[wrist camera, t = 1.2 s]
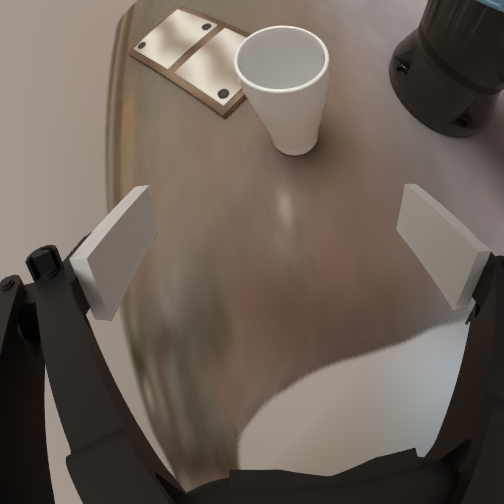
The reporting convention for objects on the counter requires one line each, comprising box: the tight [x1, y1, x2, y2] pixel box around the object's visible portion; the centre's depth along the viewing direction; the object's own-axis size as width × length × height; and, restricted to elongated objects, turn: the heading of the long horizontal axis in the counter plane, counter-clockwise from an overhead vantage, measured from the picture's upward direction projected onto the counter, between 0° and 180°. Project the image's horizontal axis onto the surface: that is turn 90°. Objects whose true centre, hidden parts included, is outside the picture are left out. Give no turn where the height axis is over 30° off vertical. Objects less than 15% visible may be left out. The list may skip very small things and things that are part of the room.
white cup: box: [234, 26, 330, 156], centre depth 24 cm, size 7×7×15 cm
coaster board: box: [128, 6, 251, 119], centre depth 33 cm, size 12×23×2 cm, turn 47°
